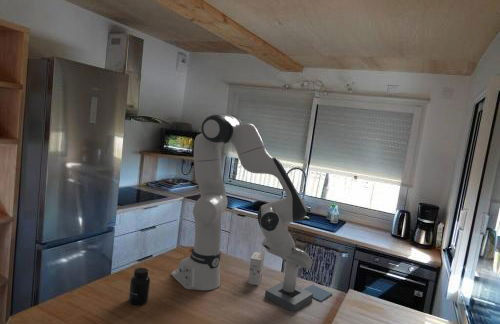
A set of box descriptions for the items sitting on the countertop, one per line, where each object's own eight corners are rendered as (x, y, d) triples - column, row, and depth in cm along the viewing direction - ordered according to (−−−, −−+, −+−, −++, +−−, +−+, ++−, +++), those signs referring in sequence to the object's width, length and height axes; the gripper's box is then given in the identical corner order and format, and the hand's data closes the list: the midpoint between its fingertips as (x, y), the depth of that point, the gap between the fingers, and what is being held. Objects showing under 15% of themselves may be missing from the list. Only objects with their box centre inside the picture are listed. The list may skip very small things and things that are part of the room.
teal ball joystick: (280, 288, 139) (285, 255, 138) (287, 285, 143) (291, 253, 141) (290, 293, 136) (295, 259, 134) (297, 289, 140) (302, 257, 138)
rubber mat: (300, 292, 147) (300, 290, 146) (312, 285, 154) (312, 284, 154) (320, 301, 140) (321, 300, 140) (332, 294, 148) (332, 293, 148)
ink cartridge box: (251, 275, 157) (255, 245, 156) (261, 277, 156) (265, 247, 155) (247, 283, 149) (251, 251, 147) (258, 286, 148) (262, 253, 146)
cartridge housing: (264, 297, 139) (265, 290, 139) (284, 287, 150) (285, 280, 149) (293, 312, 130) (294, 304, 130) (312, 300, 141) (313, 293, 140)
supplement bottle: (127, 306, 121) (130, 274, 120) (129, 297, 127) (131, 266, 126) (148, 306, 123) (150, 274, 121) (148, 296, 129) (151, 266, 128)
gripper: (310, 247, 125) (319, 266, 134) (266, 230, 138) (277, 248, 147) (301, 261, 122) (311, 280, 131) (258, 242, 135) (269, 261, 144)
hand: (293, 263), depth 139 cm, fingers closed on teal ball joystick, 5 cm apart
